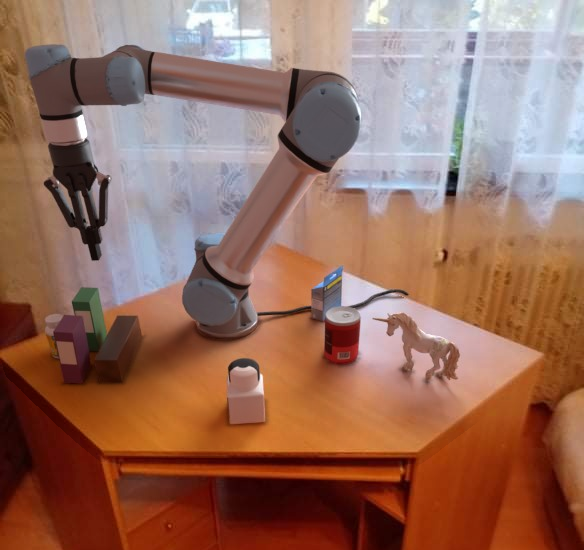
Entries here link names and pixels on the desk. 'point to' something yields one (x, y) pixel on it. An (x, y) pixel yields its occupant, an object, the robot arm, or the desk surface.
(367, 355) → the desk surface
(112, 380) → the walnut block
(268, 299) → the desk surface
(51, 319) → the supplement bottle
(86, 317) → the green tea box
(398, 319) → the unicorn figurine
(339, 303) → the tape cartridge
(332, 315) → the canned food
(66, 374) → the plum tea box
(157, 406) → the desk surface
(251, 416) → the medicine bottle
